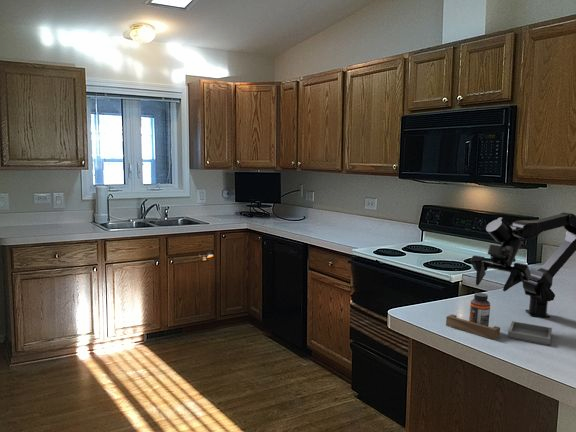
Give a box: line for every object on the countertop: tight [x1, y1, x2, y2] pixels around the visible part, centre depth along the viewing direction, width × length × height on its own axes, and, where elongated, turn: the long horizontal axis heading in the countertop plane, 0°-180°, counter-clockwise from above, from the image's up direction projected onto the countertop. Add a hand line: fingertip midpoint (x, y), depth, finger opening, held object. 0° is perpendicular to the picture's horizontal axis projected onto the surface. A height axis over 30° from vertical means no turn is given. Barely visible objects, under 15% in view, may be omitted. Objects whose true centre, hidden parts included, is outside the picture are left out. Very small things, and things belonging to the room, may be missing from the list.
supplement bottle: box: [468, 292, 491, 327], centre depth 162 cm, size 6×6×11 cm
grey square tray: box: [507, 320, 553, 346], centre depth 156 cm, size 12×12×2 cm
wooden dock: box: [445, 313, 501, 340], centre depth 159 cm, size 4×16×3 cm, turn 43°
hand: (490, 287), depth 165 cm, fingers open, 9 cm apart
